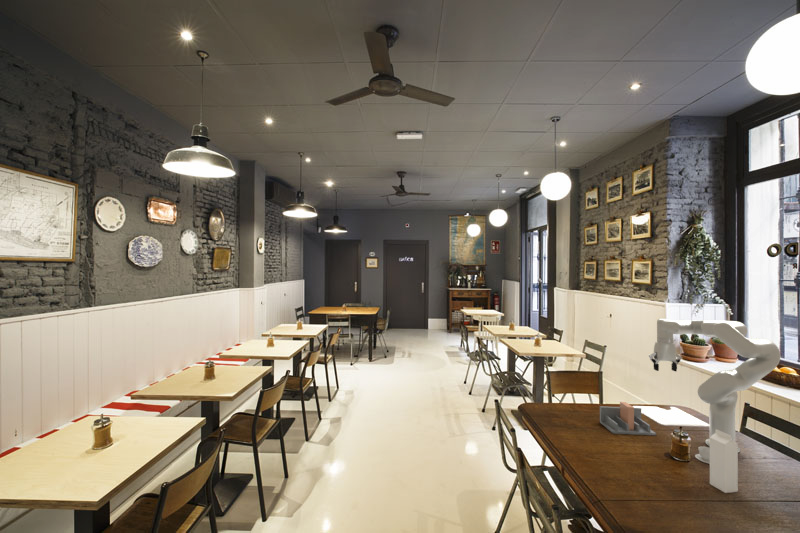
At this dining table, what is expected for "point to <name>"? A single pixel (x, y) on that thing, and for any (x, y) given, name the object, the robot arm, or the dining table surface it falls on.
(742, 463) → the dining table surface
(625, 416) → the plate block
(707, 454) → the teacup
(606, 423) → the dish rack
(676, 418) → the tray
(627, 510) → the dining table surface
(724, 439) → the milk
